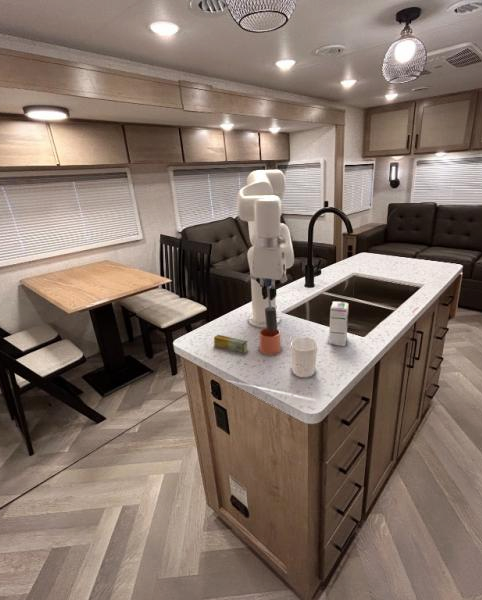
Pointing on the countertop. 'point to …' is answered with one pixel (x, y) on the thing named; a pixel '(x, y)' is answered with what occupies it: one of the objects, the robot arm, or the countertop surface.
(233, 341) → the medication box
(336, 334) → the syrup box
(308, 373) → the white cup
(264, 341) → the cup
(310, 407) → the countertop surface
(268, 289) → the bottle brush
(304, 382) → the countertop surface
